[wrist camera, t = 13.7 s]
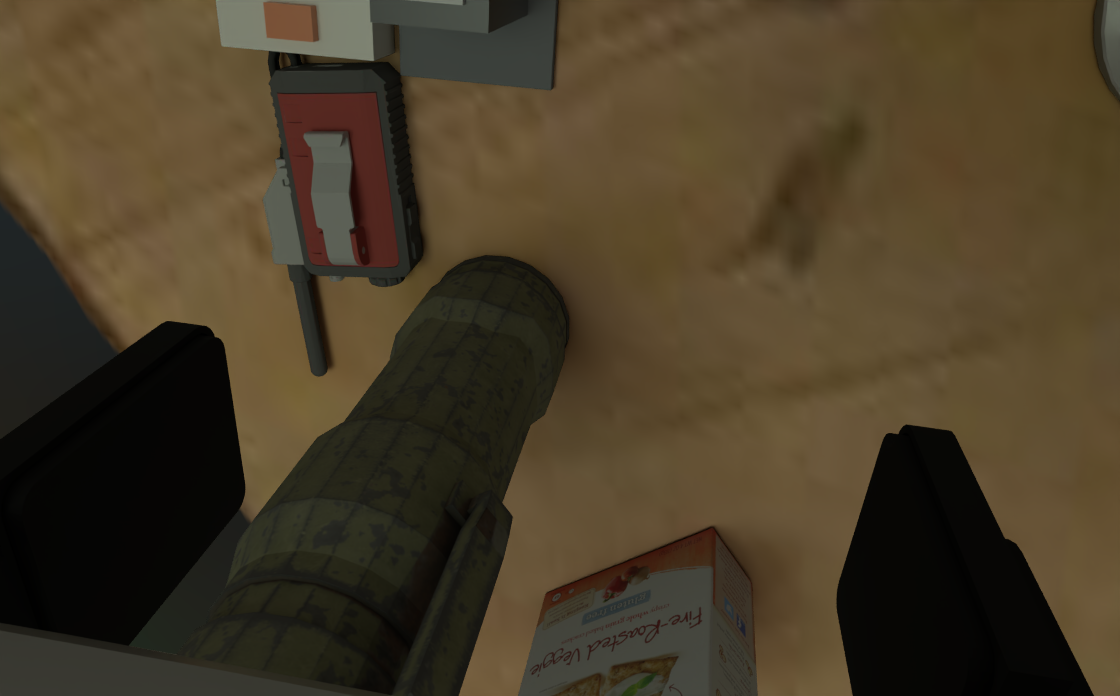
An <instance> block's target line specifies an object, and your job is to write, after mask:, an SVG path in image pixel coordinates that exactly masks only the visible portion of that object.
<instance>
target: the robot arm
mask: <svg viewBox="0 0 1120 696" xmlns="http://www.w3.org/2000/svg"><path fill="white" fill-rule="evenodd" d="M1094 46H1095V50H1096V55H1097V60H1098V65H1099V69H1100V71H1101V73H1102V75H1103V77H1104V79H1105V81H1106V83H1107V85H1108V87H1109V90H1110V91H1111V92H1112V93H1113V94H1114V96H1115V97H1116V98H1117V99H1118V100H1119V102H1120V0H1097V4H1096V9H1095V14H1094ZM244 496H245V480H244V473H243V466H242V460H241V453H240V446H239V440H238V433H237V426H236V420H235V413H234V406H233V400H232V393H231V387H230V380H229V373H228V367H227V360H226V353H225V348H224V344H223V342H222V341H221V339H219V338H217V337H215V336H214V333H213V332H212V330H211V329H210V328H208V327H207V326H202V325H195V324H188V323H180V322H173V321H166V322H164V323H162V324H160V325H159V326H158V327H156V328H155V329H153V330H152V331H151V332H149V333H148V334H146V335H145V336H144V337H142V338H141V339H139V340H138V341H137V342H135V343H134V344H132V345H131V346H130V347H128V348H127V349H126V350H124V351H123V352H121V353H120V354H119V355H117V356H116V357H114V358H113V359H112V360H110V361H109V362H108V363H106V364H105V365H103V366H102V367H100V368H99V369H98V370H96V371H95V372H93V373H92V374H91V375H89V376H88V377H87V378H85V379H84V380H82V381H81V382H80V383H78V384H77V385H75V386H74V387H73V388H71V389H70V390H68V391H67V392H66V393H64V394H63V395H61V396H60V397H59V398H57V399H56V400H55V401H53V402H52V403H50V404H49V405H48V406H46V407H45V408H43V409H42V410H41V411H39V412H38V413H36V414H35V415H34V416H32V417H31V418H29V419H28V420H27V421H25V422H24V423H22V424H21V425H20V426H18V427H17V428H15V429H14V430H13V431H11V432H10V433H9V434H7V435H6V436H5V437H3V438H2V439H0V696H392V695H387V694H382V693H376V692H371V691H366V690H361V689H356V688H350V687H345V686H340V685H335V684H329V683H324V682H319V681H314V680H308V679H303V678H298V677H293V676H287V675H282V674H277V673H272V672H266V671H261V670H256V669H250V668H245V667H240V666H234V665H229V664H224V663H218V662H213V661H207V660H202V659H197V658H191V657H186V656H180V655H175V654H169V653H164V652H159V651H153V650H147V649H142V648H137V647H131V646H129V644H130V643H131V642H132V641H133V640H134V638H135V637H136V636H137V635H138V633H139V632H140V631H141V630H142V628H143V627H144V626H145V625H146V624H147V622H148V621H149V620H150V619H151V617H152V616H153V615H154V614H155V612H156V611H157V610H158V609H159V608H160V606H161V605H162V604H163V602H164V601H165V600H166V598H168V596H169V595H170V594H171V593H172V592H173V590H174V589H175V588H176V587H177V585H178V584H179V583H180V582H181V580H182V579H183V578H184V577H185V575H186V574H187V573H188V572H189V570H190V569H191V568H192V567H193V566H194V564H195V563H196V562H197V561H198V559H199V558H200V557H201V556H202V554H203V553H204V552H205V551H206V549H207V548H208V547H209V546H210V545H211V543H212V542H213V541H214V540H215V539H216V537H217V536H218V535H219V534H220V532H221V531H222V530H223V529H224V527H225V526H226V525H227V524H228V523H229V521H230V520H231V519H232V517H233V516H234V515H235V514H236V513H237V512H238V510H239V508H240V507H241V505H242V502H243V499H244ZM837 613H838V619H839V624H840V630H841V635H842V640H843V646H844V651H845V656H846V662H847V667H848V673H849V678H850V683H851V689H852V694H853V696H1094V695H1093V693H1092V691H1091V689H1090V687H1089V685H1088V683H1087V681H1086V679H1085V677H1084V675H1083V673H1082V671H1081V669H1080V667H1079V665H1078V663H1077V661H1076V659H1075V657H1074V655H1073V653H1072V651H1071V649H1070V647H1069V645H1068V643H1067V641H1066V639H1065V637H1064V635H1063V633H1062V631H1061V629H1060V627H1059V625H1058V623H1057V621H1056V619H1055V617H1054V615H1053V613H1052V611H1051V609H1050V607H1049V605H1048V603H1047V601H1046V599H1045V597H1044V595H1043V593H1042V591H1041V589H1040V587H1039V585H1038V583H1037V581H1036V579H1035V577H1034V575H1033V573H1032V571H1031V569H1030V567H1029V565H1028V563H1027V561H1026V559H1025V557H1024V555H1023V553H1022V552H1021V550H1020V549H1019V547H1018V546H1017V544H1016V543H1014V542H1012V541H1011V540H1009V539H1005V538H1004V536H1003V534H1002V532H1001V530H1000V528H999V526H998V523H997V521H996V519H995V517H994V515H993V513H992V511H991V509H990V507H989V505H988V503H987V501H986V499H985V497H984V495H983V492H982V490H981V488H980V486H979V484H978V482H977V480H976V478H975V476H974V474H973V472H972V470H971V468H970V466H969V464H968V461H967V459H966V457H965V455H964V453H963V451H962V449H961V447H960V445H959V443H958V441H957V439H956V437H955V435H954V434H953V432H952V431H948V430H942V429H935V428H927V427H920V426H913V425H905V426H903V427H902V428H901V430H900V431H899V434H893V433H888V434H886V436H885V437H884V439H883V442H882V444H881V448H880V451H879V454H878V457H877V461H876V464H875V467H874V470H873V474H872V477H871V480H870V483H869V486H868V490H867V493H866V496H865V499H864V503H863V506H862V509H861V512H860V516H859V519H858V522H857V525H856V528H855V532H854V535H853V538H852V541H851V545H850V548H849V551H848V554H847V558H846V561H845V564H844V567H843V570H842V574H841V577H840V580H839V584H838V589H837Z"/></svg>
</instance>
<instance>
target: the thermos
mask: <svg viewBox="0 0 1120 696" xmlns="http://www.w3.org/2000/svg"><path fill="white" fill-rule="evenodd" d="M568 339H569V316H568V313H567V310H566V307H565V304H564V301H563V298H562V296H561V295H560V294H559V292H558V291H557V290H556V288H555V287H554V285H553V284H552V283H551V281H550V280H549V279H548V278H547V277H545V276H544V275H543V274H541V273H540V272H539V271H537V270H536V269H535V268H533V267H532V266H531V265H529V264H526V263H523V262H521V261H518V260H515V259H513V258H510V257H502V256H488V255H485V256H481V257H477V258H473V259H469V260H465V261H463V262H462V263H460V264H459V265H457V266H456V267H454V268H453V269H451V270H450V271H448V272H447V273H446V274H445V276H444V277H443V278H442V280H441V281H440V282H439V283H438V284H436V285H435V286H433V287H432V288H431V289H430V290H429V292H428V293H427V294H426V296H425V297H424V298H423V299H422V301H421V302H420V303H419V305H418V306H417V307H416V308H415V310H414V311H413V312H412V314H411V315H410V316H409V318H408V319H407V321H406V322H405V323H404V325H403V326H402V327H401V329H400V330H399V331H398V333H397V334H396V336H395V340H394V344H393V348H392V352H391V355H390V361H389V362H388V363H387V365H386V366H385V367H384V369H383V370H382V371H381V373H380V374H379V375H378V377H377V378H376V379H375V381H374V382H373V383H372V385H371V386H370V387H369V389H368V390H367V391H366V393H365V394H364V395H363V397H362V398H361V400H360V401H359V402H358V404H357V405H356V406H355V408H354V409H353V410H352V412H351V413H350V414H349V416H348V417H347V418H346V420H345V421H344V422H343V423H341V424H339V425H338V426H336V427H334V428H333V429H331V430H329V431H328V432H326V433H324V434H322V435H321V436H319V437H317V439H316V440H315V441H314V443H313V444H312V445H311V446H310V448H309V449H308V450H307V452H306V453H305V454H304V455H303V457H302V458H301V459H300V461H299V462H298V463H297V464H296V466H295V467H294V468H293V470H292V471H291V472H290V474H289V475H288V476H287V477H286V479H285V480H284V481H283V483H282V484H281V485H280V486H279V488H278V489H277V490H276V492H275V493H274V494H273V495H272V497H271V498H270V499H269V501H268V502H267V503H266V505H265V506H264V507H263V508H262V510H261V511H260V512H259V514H258V515H257V516H256V517H255V519H254V520H253V522H252V523H251V524H250V526H249V527H248V529H247V530H246V531H245V533H244V534H243V535H242V537H241V538H240V540H239V541H238V544H237V548H236V552H235V556H234V559H233V563H232V566H231V570H230V574H229V578H228V581H227V585H226V588H225V589H224V590H223V592H222V593H221V594H220V596H219V597H218V599H217V600H216V601H215V603H214V604H213V606H212V607H211V608H210V609H209V611H208V616H207V623H206V624H205V625H203V626H201V627H199V628H197V629H195V630H194V632H193V633H192V635H191V636H190V637H189V639H188V640H187V641H186V642H185V644H184V645H183V646H182V648H181V649H180V651H179V652H178V653H177V655H180V656H186V657H191V658H197V659H202V660H207V661H213V662H218V663H224V664H229V665H234V666H240V667H245V668H250V669H256V670H261V671H266V672H272V673H277V674H282V675H287V676H293V677H298V678H303V679H308V680H314V681H319V682H324V683H329V684H335V685H340V686H345V687H350V688H356V689H361V690H366V691H371V692H376V693H382V694H387V695H392V696H459V693H460V689H461V686H462V683H463V680H464V677H465V674H466V671H467V668H468V665H469V662H470V659H471V656H472V653H473V650H474V647H475V644H476V641H477V638H478V635H479V632H480V629H481V626H482V623H483V620H484V617H485V613H486V610H487V607H488V604H489V601H490V598H491V595H492V592H493V589H494V586H495V583H496V580H497V577H498V574H499V571H500V568H501V565H502V562H503V559H504V555H505V551H506V546H507V542H508V538H509V534H510V529H511V524H512V518H513V516H512V515H511V514H510V512H509V511H508V510H507V508H506V507H505V506H504V505H503V503H502V502H503V499H504V496H505V494H506V491H507V488H508V485H509V483H510V480H511V477H512V474H513V472H514V469H515V466H516V463H517V461H518V458H519V455H520V452H521V450H522V447H523V444H524V441H525V439H526V436H527V433H528V430H529V428H530V425H531V424H533V423H534V422H535V421H537V420H538V419H539V418H541V417H542V416H543V415H545V412H546V410H547V407H548V405H549V402H550V399H551V397H552V394H553V391H554V388H555V386H556V383H557V380H558V377H559V374H560V371H561V368H562V365H563V362H564V353H565V347H566V345H567V342H568Z"/></svg>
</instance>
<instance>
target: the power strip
mask: <svg viewBox="0 0 1120 696" xmlns="http://www.w3.org/2000/svg"><path fill="white" fill-rule="evenodd" d="M216 6H217V14H218V22H219V30H220V37H221V45H222V46H225V47H236V48H246V49H256V50H266V51H277V52H287V53H297V54H308V55H318V56H328V57H338V58H349V59H359V60H369V61H375V60H377V59H380V58H383V57H385V56H388V55H390V54H393V53H395V45H394V24H383V23H373V22H370V0H216Z"/></svg>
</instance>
